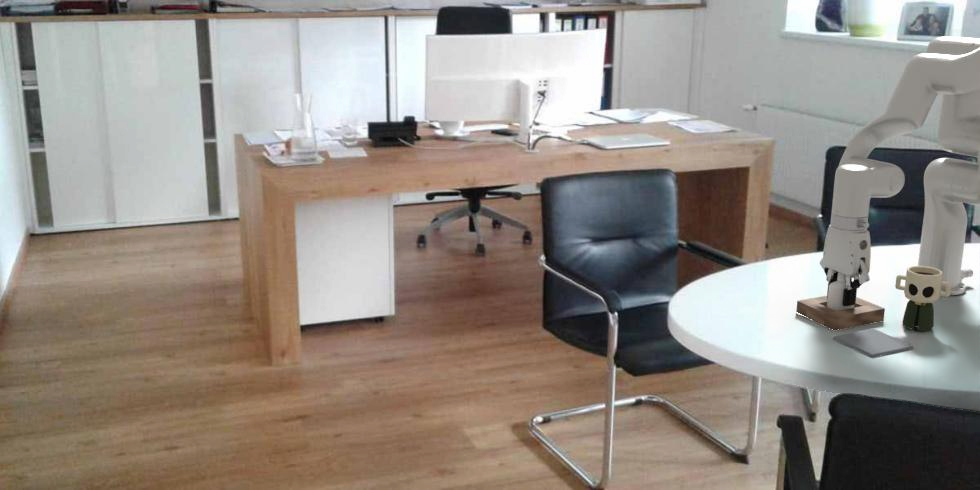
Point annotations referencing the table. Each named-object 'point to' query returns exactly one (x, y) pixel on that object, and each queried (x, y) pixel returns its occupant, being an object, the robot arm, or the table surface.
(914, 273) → the character mug
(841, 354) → the table surface
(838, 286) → the eye dropper bottle
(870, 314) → the walnut dock
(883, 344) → the slate mat
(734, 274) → the table surface
